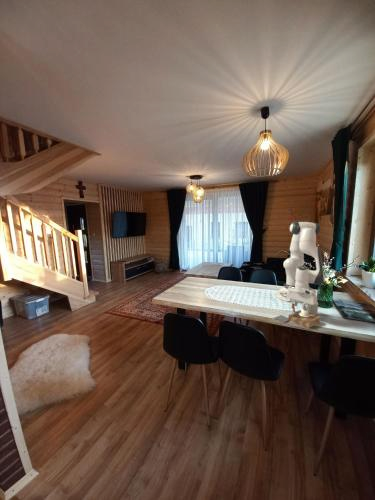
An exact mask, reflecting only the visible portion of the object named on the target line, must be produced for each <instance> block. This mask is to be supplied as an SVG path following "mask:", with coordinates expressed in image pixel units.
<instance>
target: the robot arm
mask: <svg viewBox="0 0 375 500" xmlns="http://www.w3.org/2000/svg"><path fill="white" fill-rule="evenodd" d="M289 232H290V233H291V235H292V237H291V241H290V245H289V251H290V256H289V257H288V258H286V259H285V260H284V261H283V268H284V269H285V275H286V283H283V287H281V288H280V289H278V290H277V293H276V294H274V297H275V298H278V299H280V300H281V301H282V300H283V301H285V302H288V303H289V302H290V303H291V302H292V303H294V304H295V307H298V303H300V302H301V303H306V305H305V309H308V306H309V305H316V304H317V303H318V297H317V294H316V293H317V290H315V289H314V288H312V287H310V285H309V284H313V285H318V286H320V285H322V284H324V283H325V281H326V275H325V271H324V264H323V257H322V252H321V249H319V248H318V247H317V236H318V235H319V234H320V232H321V225H320V224H319V223H317V222H308V221H293V222H291V224H290V225H289ZM304 254H306V255H308V256H311V257H312V258H314V260H315V268H316V270H311V269H310V268H309V267H307V266H305V260H304V258H305V255H304Z"/></svg>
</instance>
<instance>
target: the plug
mask: <svg viewBox="0 0 375 500" xmlns="http://www.w3.org/2000/svg"><path fill="white" fill-rule="evenodd" d="M300 310H301V313H299V315H300V316H301V317H304V318H309V317H310V315H309V314H308V310H307V309H305V308H301V309H300Z"/></svg>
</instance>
